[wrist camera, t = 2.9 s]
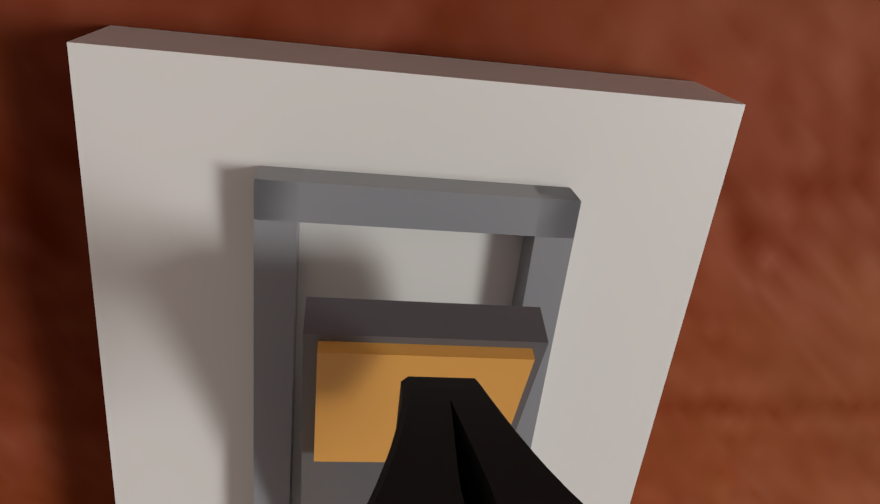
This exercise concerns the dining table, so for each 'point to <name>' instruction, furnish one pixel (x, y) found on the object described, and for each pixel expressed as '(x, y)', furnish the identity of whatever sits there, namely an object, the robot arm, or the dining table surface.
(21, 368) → the dining table surface
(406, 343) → the breaker rocker
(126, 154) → the rocker switch base
